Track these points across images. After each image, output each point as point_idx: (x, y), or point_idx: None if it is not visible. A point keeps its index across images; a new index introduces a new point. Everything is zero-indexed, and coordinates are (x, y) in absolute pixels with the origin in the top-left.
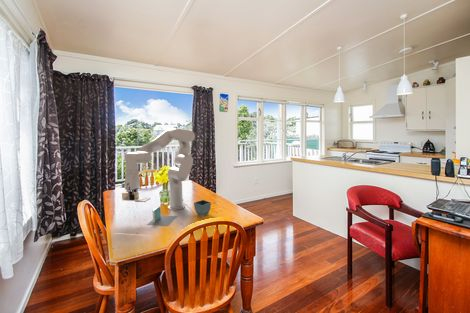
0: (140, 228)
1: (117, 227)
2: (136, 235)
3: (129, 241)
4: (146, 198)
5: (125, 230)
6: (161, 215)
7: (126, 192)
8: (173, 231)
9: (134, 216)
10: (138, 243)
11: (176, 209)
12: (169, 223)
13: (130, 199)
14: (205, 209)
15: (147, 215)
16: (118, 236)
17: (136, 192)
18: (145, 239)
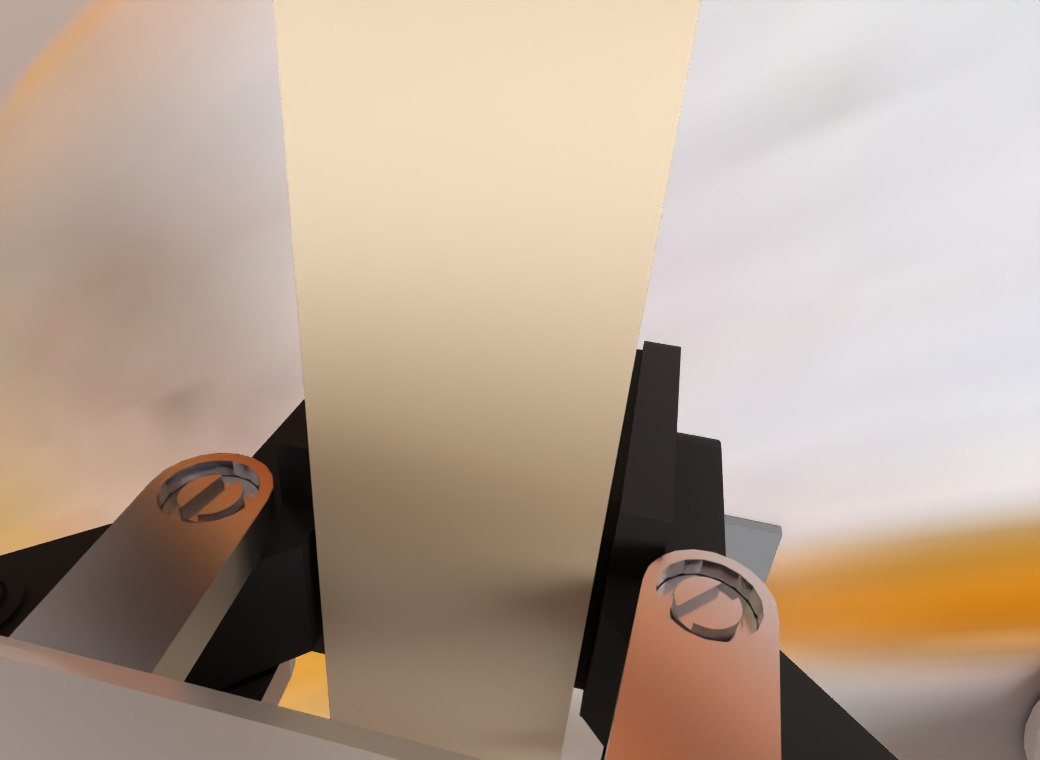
0: (304, 398)
1: (260, 8)
2: (131, 412)
3: (3, 387)
4: (567, 758)
5: (201, 217)
6: (765, 578)
7: (448, 178)
8: (307, 706)
9: (833, 84)
10: (12, 479)
11: (1025, 748)
12: None
13: None
14: None
15: (848, 347)
16: (33, 207)
17: (475, 755)
18: (94, 518)
